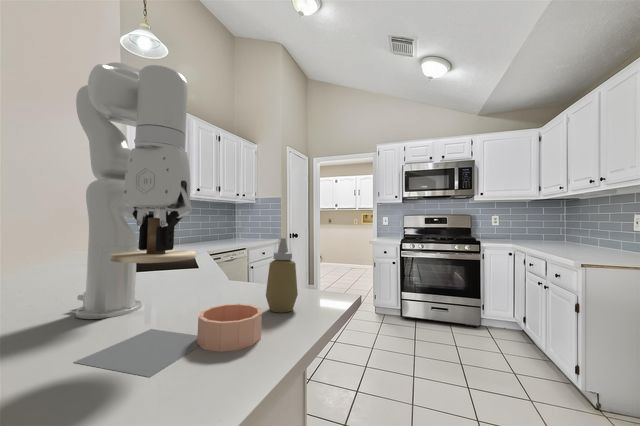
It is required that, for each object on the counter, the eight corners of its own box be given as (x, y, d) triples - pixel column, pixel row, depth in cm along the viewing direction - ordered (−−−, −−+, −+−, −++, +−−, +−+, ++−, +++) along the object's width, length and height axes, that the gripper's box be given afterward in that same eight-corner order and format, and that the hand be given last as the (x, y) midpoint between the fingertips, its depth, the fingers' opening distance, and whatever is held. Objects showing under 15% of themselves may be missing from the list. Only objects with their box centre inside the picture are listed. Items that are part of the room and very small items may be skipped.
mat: (73, 364, 42) (73, 362, 42) (151, 331, 55) (151, 328, 55) (149, 379, 38) (149, 376, 38) (212, 339, 52) (212, 337, 52)
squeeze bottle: (292, 316, 66) (293, 239, 67) (259, 313, 68) (262, 238, 69) (301, 306, 74) (302, 238, 75) (272, 304, 76) (274, 237, 76)
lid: (89, 260, 43) (92, 216, 44) (155, 252, 55) (157, 218, 56) (155, 265, 40) (158, 217, 40) (210, 256, 52) (211, 219, 52)
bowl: (184, 348, 48) (185, 318, 48) (221, 326, 59) (222, 302, 59) (241, 357, 45) (242, 325, 46) (270, 332, 56) (270, 306, 56)
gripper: (103, 139, 47) (97, 249, 46) (185, 133, 43) (180, 254, 42) (142, 150, 54) (137, 246, 53) (215, 146, 50) (211, 250, 49)
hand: (156, 249), depth 48 cm, fingers closed on lid, 2 cm apart
